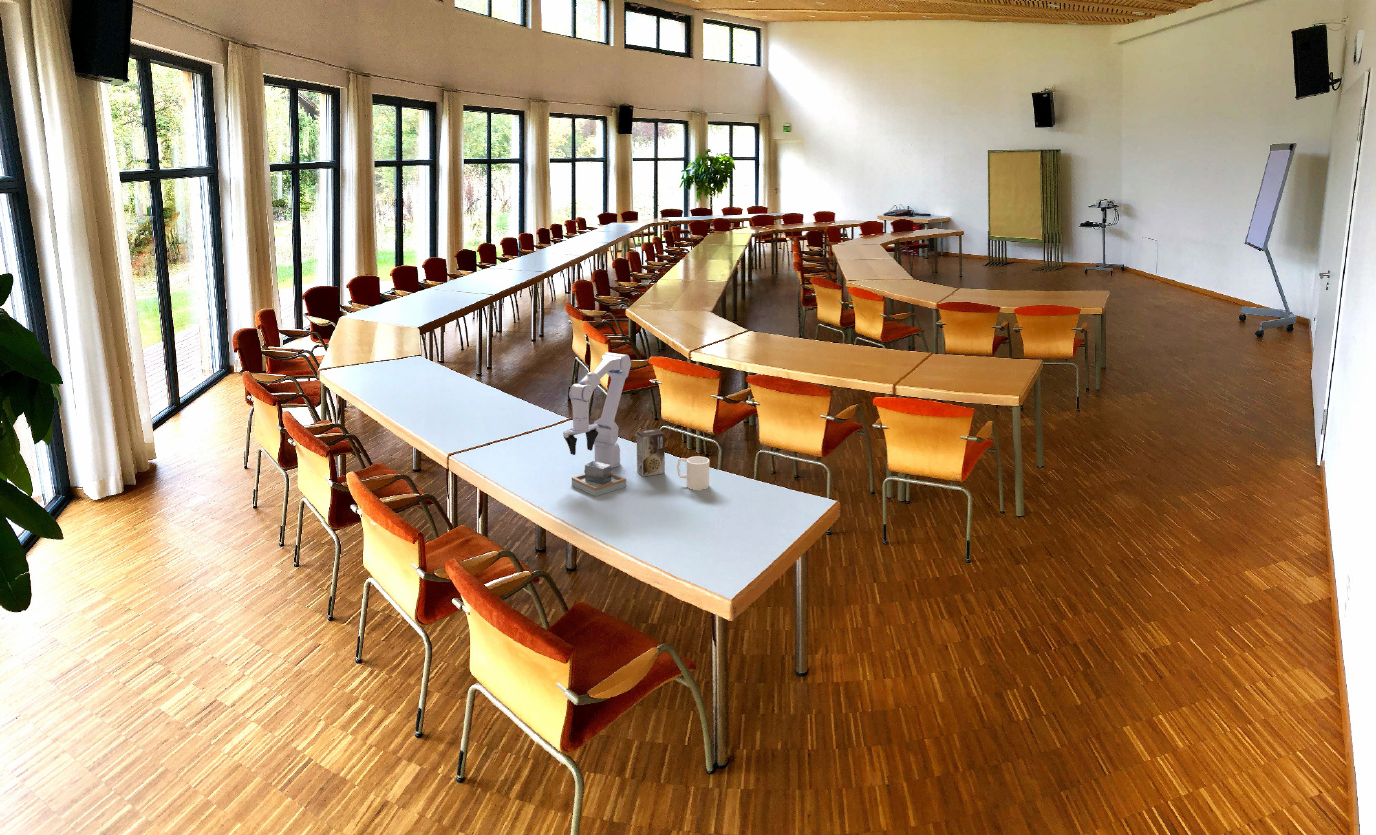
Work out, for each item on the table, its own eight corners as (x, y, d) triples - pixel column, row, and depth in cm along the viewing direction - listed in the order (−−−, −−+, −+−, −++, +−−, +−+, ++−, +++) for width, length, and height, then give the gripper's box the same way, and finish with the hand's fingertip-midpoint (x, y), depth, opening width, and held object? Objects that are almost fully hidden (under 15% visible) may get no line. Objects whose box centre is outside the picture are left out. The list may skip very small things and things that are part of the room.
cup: (680, 479, 326) (680, 454, 323) (711, 483, 323) (712, 457, 320) (673, 487, 319) (673, 461, 316) (705, 491, 315) (706, 465, 313)
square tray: (602, 476, 329) (602, 468, 328) (626, 486, 319) (626, 478, 318) (571, 485, 320) (571, 477, 319) (595, 496, 310) (595, 488, 309)
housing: (611, 480, 319) (611, 465, 317) (603, 484, 315) (603, 469, 313) (591, 475, 323) (590, 460, 321) (583, 479, 319) (582, 464, 317)
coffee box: (658, 468, 337) (658, 428, 333) (665, 473, 332) (665, 433, 327) (636, 471, 334) (636, 431, 329) (642, 477, 328) (642, 436, 323)
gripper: (590, 410, 326) (590, 445, 330) (557, 417, 317) (558, 453, 321) (601, 414, 322) (602, 449, 325) (569, 422, 312) (570, 458, 316)
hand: (581, 452), depth 323 cm, fingers open, 7 cm apart
